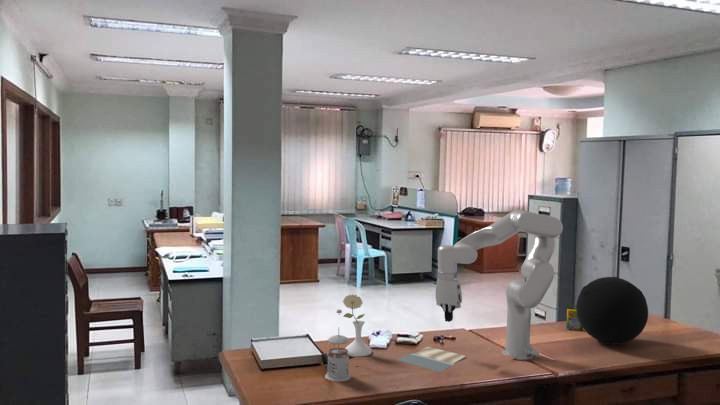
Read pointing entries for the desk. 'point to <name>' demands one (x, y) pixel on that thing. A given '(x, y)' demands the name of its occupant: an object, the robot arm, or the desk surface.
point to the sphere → (612, 310)
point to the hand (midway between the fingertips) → (448, 320)
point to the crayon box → (572, 319)
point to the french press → (338, 359)
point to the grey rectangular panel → (425, 362)
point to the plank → (440, 355)
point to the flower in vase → (356, 328)
